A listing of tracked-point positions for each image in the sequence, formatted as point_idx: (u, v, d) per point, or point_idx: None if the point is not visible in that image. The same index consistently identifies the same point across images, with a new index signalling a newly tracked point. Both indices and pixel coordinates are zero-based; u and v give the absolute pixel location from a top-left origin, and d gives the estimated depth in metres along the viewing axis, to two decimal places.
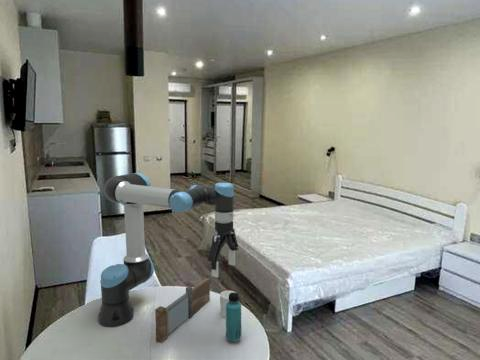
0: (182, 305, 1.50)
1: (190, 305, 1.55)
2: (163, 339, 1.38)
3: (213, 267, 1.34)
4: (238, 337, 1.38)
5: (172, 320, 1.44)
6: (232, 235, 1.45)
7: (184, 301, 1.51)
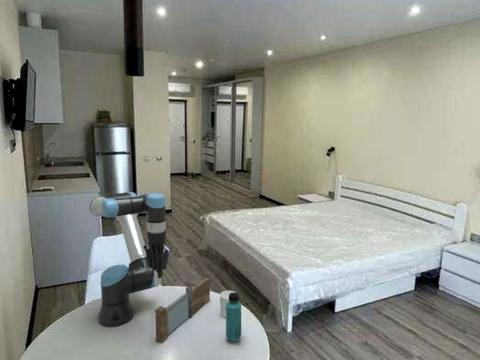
0: (182, 305, 1.50)
1: (190, 305, 1.55)
2: (163, 339, 1.38)
3: None
4: (238, 337, 1.38)
5: (172, 320, 1.44)
6: None
7: (184, 301, 1.51)
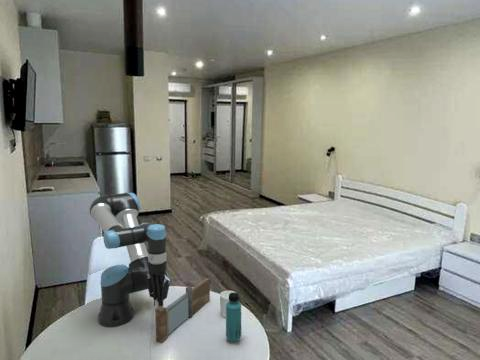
0: (182, 305, 1.50)
1: (190, 305, 1.55)
2: (163, 339, 1.38)
3: None
4: (238, 337, 1.38)
5: (172, 320, 1.44)
6: None
7: (184, 301, 1.51)
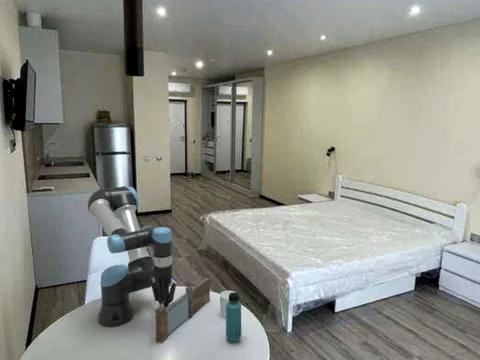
0: (182, 305, 1.50)
1: (190, 305, 1.55)
2: (163, 339, 1.38)
3: None
4: (238, 337, 1.38)
5: (172, 320, 1.44)
6: None
7: (184, 301, 1.51)
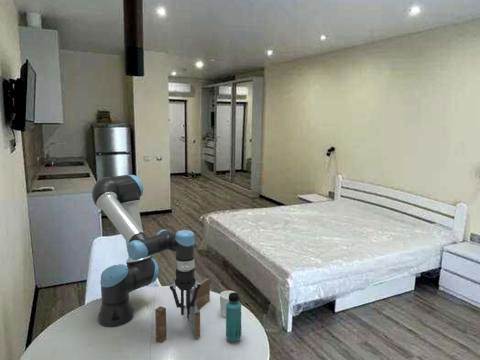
0: None
1: None
2: (163, 339, 1.38)
3: (181, 312, 1.42)
4: (238, 337, 1.38)
5: None
6: (195, 289, 1.41)
7: None
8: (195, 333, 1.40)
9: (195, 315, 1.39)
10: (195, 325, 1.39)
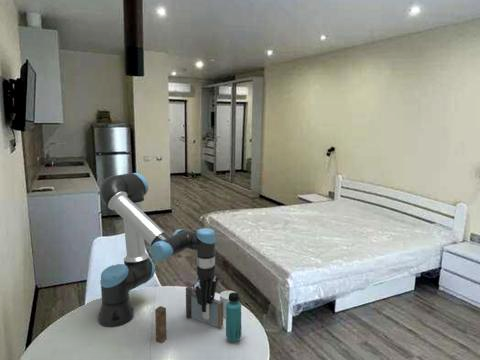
0: None
1: (190, 305, 1.55)
2: (163, 339, 1.38)
3: (203, 310, 1.44)
4: (238, 337, 1.38)
5: None
6: (213, 283, 1.47)
7: None
8: (220, 323, 1.47)
9: (220, 306, 1.46)
10: (220, 315, 1.47)
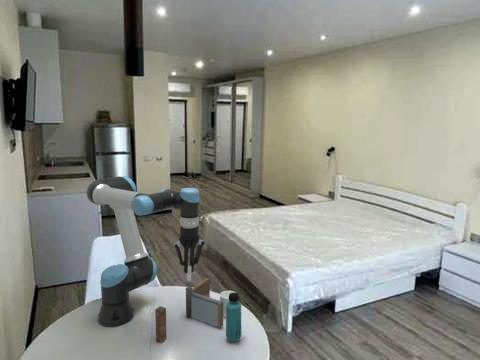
0: None
1: (190, 305, 1.55)
2: (163, 339, 1.38)
3: (184, 270, 1.42)
4: (238, 337, 1.38)
5: None
6: (199, 246, 1.42)
7: None
8: (220, 323, 1.47)
9: (220, 306, 1.46)
10: (220, 315, 1.47)
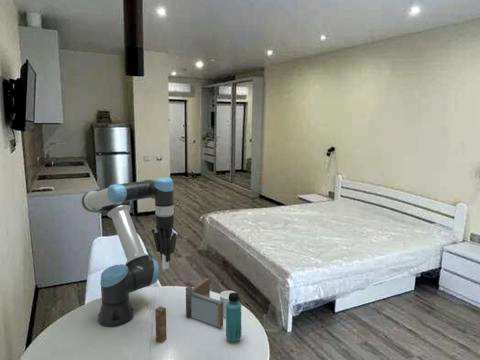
0: None
1: (190, 305, 1.55)
2: (163, 339, 1.38)
3: None
4: (238, 337, 1.38)
5: None
6: None
7: None
8: (220, 323, 1.47)
9: (220, 306, 1.46)
10: (220, 315, 1.47)
